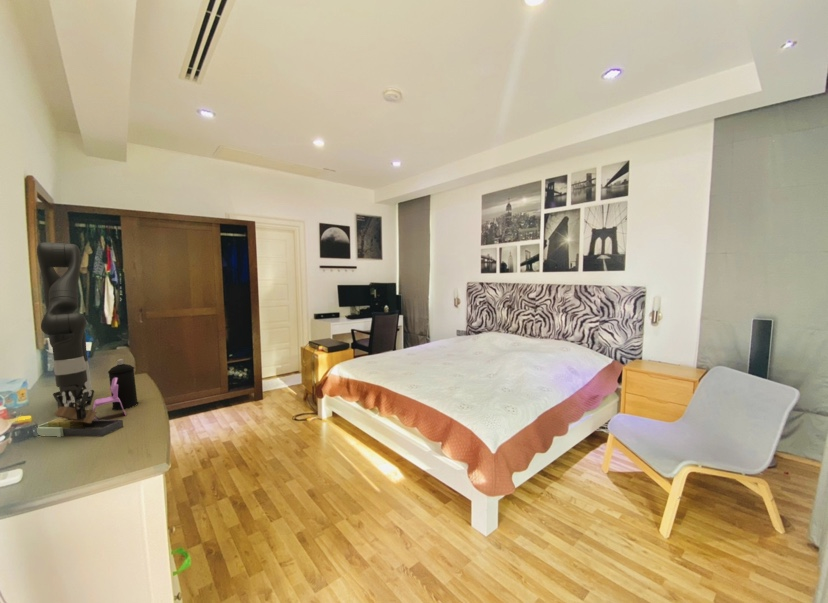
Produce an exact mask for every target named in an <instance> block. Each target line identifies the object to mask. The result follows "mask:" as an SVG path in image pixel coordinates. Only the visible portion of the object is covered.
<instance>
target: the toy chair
mask: <svg viewBox="0 0 828 603" xmlns="http://www.w3.org/2000/svg"><path fill="white" fill-rule="evenodd" d="M117 379H118V378H113V380H112V384H111V387H110V388H109V389H110V393H111V392H112V393H113V396H112V395H111V396H108V397H102V398H97V399H94V402H93V406H92V411H95V412H96V408H97V407H100V406H103V405H106V404H107V405H108V404H113V403H112V402H120V404H121V407H122V409H123V406H122V403H121V401H120V399H119V398H118V384H116V383H117ZM122 412H123V414H124V415H125V416H124V417H126V415H127V413H126V411H125V409H123V410H122ZM94 418H95V419H94V420H99V419H98V417H97V414H96V415H95V417H94Z"/></svg>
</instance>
